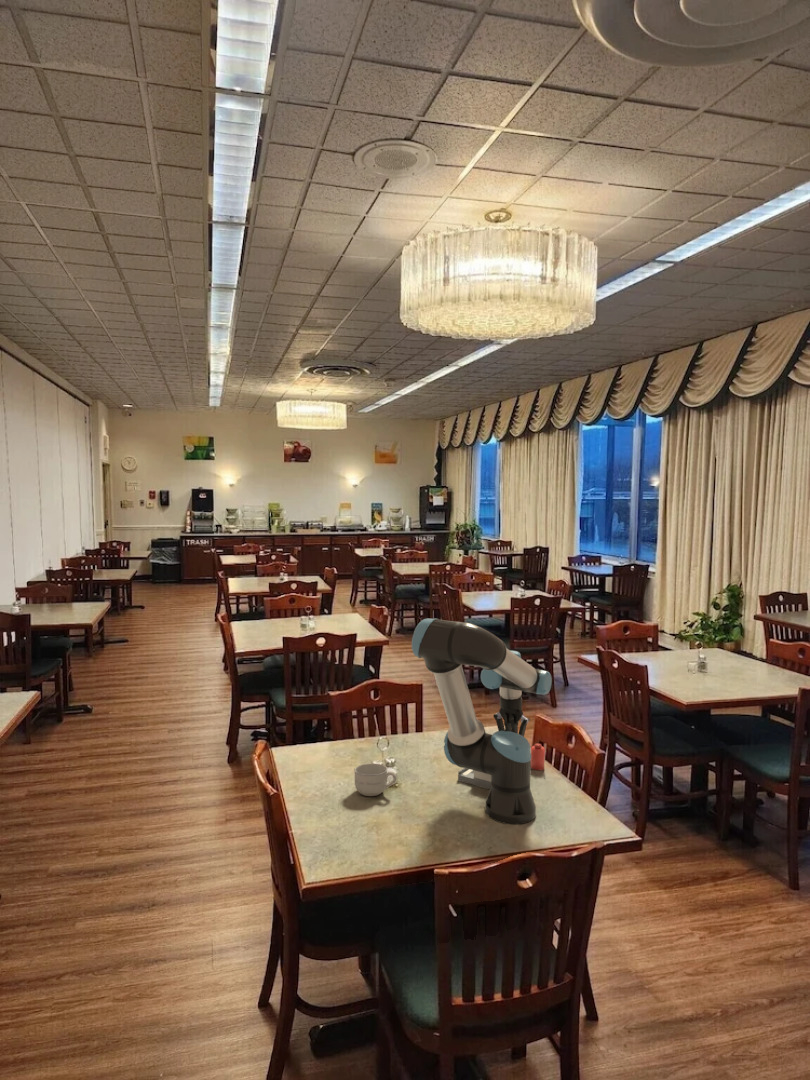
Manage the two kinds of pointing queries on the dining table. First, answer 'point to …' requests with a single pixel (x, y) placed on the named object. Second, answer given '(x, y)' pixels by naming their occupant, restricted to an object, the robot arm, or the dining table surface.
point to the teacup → (372, 779)
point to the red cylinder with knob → (537, 757)
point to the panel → (472, 778)
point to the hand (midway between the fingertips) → (512, 763)
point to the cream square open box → (482, 776)
